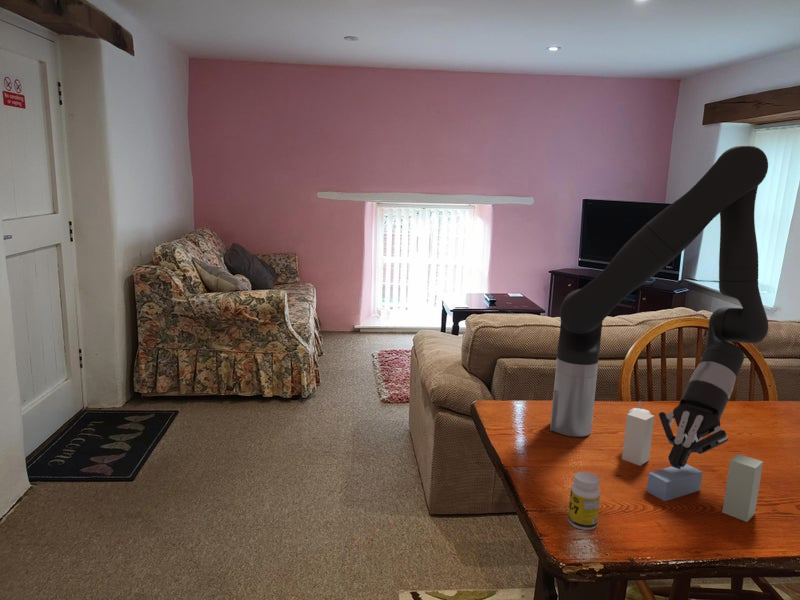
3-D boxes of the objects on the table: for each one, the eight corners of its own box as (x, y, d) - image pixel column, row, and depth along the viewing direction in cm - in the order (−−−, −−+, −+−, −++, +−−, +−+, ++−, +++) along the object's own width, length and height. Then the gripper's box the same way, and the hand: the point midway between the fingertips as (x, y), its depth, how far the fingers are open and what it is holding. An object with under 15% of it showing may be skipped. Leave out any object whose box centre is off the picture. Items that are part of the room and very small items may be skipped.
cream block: (621, 459, 125) (626, 414, 123) (630, 453, 127) (635, 409, 126) (640, 465, 122) (645, 420, 120) (649, 460, 125) (654, 415, 123)
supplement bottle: (563, 515, 102) (567, 470, 101) (590, 514, 103) (594, 470, 101) (573, 531, 97) (578, 484, 96) (601, 530, 98) (606, 483, 96)
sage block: (722, 512, 105) (730, 459, 103) (730, 504, 108) (738, 453, 106) (746, 522, 102) (755, 468, 100) (754, 514, 105) (763, 461, 103)
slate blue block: (681, 481, 116) (646, 492, 112) (684, 462, 115) (648, 472, 111) (699, 491, 113) (664, 502, 108) (702, 471, 112) (667, 482, 107)
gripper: (670, 371, 119) (635, 444, 113) (742, 389, 109) (708, 470, 103) (678, 391, 123) (645, 462, 117) (748, 409, 114) (715, 488, 108)
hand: (674, 465), depth 110 cm, fingers closed
